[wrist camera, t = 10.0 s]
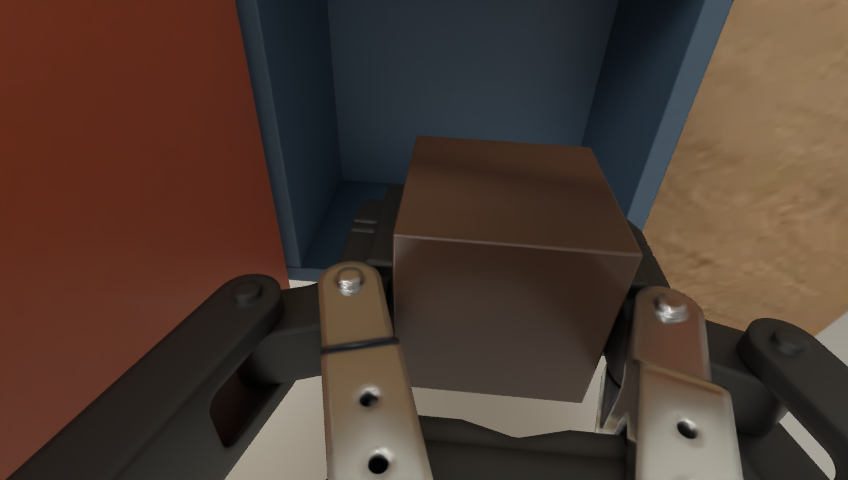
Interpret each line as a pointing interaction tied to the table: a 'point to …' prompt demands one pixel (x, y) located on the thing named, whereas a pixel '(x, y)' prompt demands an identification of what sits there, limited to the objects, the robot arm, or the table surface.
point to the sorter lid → (117, 193)
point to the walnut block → (507, 267)
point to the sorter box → (462, 94)
